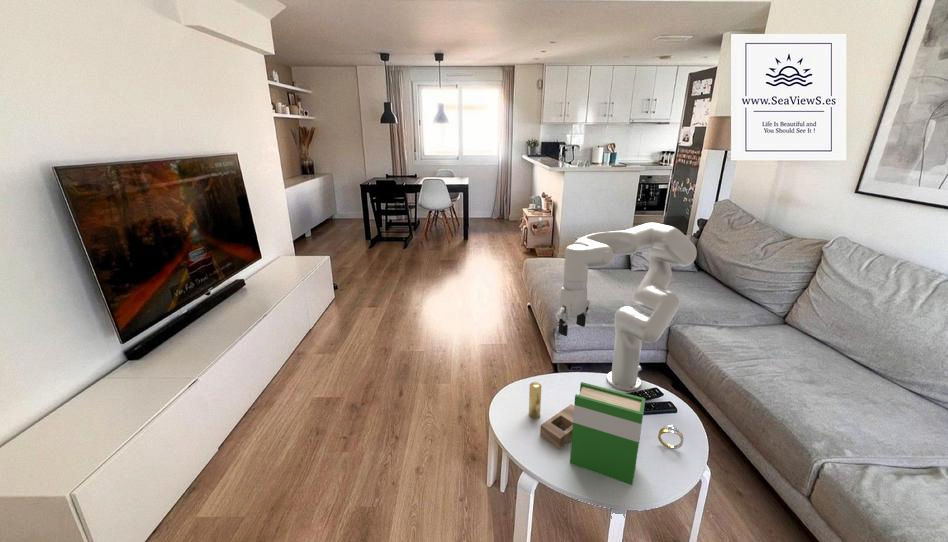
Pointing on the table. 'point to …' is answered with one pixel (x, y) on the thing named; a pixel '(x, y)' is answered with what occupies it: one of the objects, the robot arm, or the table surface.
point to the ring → (672, 430)
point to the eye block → (553, 432)
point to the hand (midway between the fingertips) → (571, 329)
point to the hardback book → (606, 431)
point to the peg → (534, 400)
